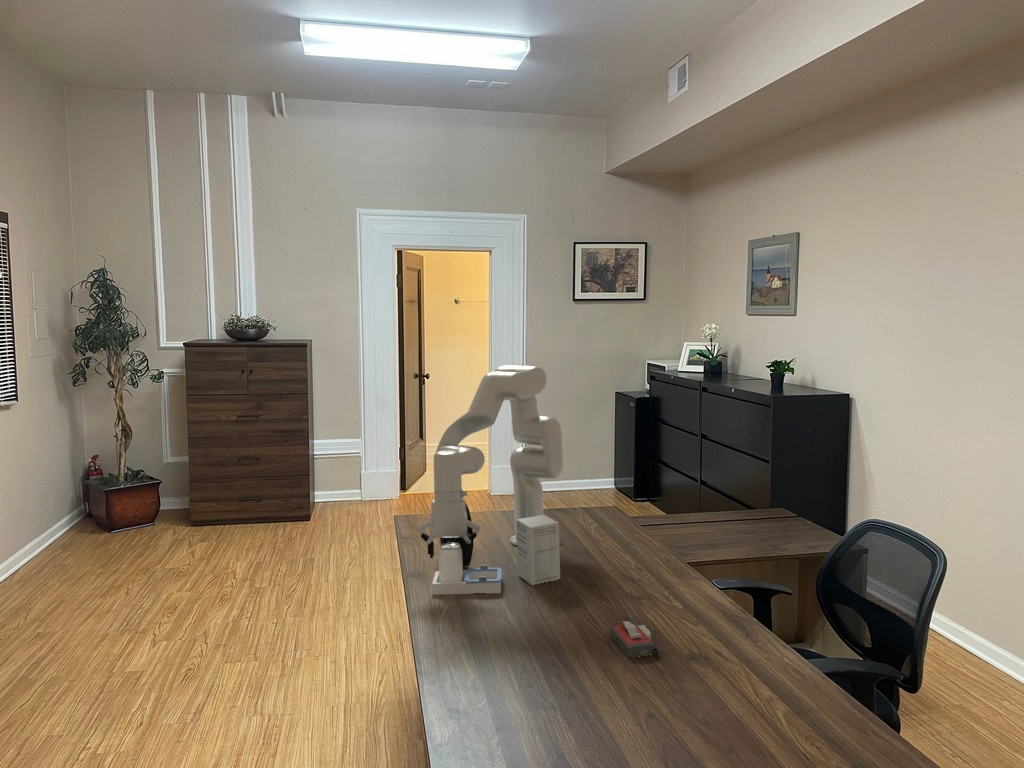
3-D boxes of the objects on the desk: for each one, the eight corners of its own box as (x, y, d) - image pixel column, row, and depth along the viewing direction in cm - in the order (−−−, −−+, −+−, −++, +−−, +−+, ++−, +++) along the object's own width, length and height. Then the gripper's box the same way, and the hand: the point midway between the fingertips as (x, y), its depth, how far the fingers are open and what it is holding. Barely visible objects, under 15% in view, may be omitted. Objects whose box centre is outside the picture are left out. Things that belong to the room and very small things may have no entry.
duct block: (502, 579, 203) (501, 564, 203) (501, 593, 193) (501, 577, 193) (436, 581, 204) (435, 565, 203) (432, 595, 194) (431, 578, 193)
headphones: (476, 572, 210) (474, 505, 208) (455, 575, 208) (452, 508, 206) (457, 552, 227) (455, 491, 225) (437, 555, 225) (435, 493, 223)
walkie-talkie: (667, 657, 157) (631, 620, 176) (667, 638, 156) (631, 603, 176) (629, 663, 155) (597, 624, 174) (629, 643, 154) (597, 607, 174)
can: (467, 585, 200) (466, 543, 199) (456, 593, 194) (454, 550, 193) (447, 581, 203) (445, 540, 202) (435, 590, 197) (433, 547, 196)
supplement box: (546, 569, 211) (544, 513, 209) (561, 579, 202) (560, 521, 201) (516, 575, 206) (515, 518, 205) (531, 586, 198) (530, 527, 196)
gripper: (480, 492, 199) (481, 551, 201) (418, 492, 200) (419, 552, 201) (478, 498, 192) (480, 560, 193) (414, 499, 192) (416, 561, 194)
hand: (449, 556), depth 197 cm, fingers open, 9 cm apart
